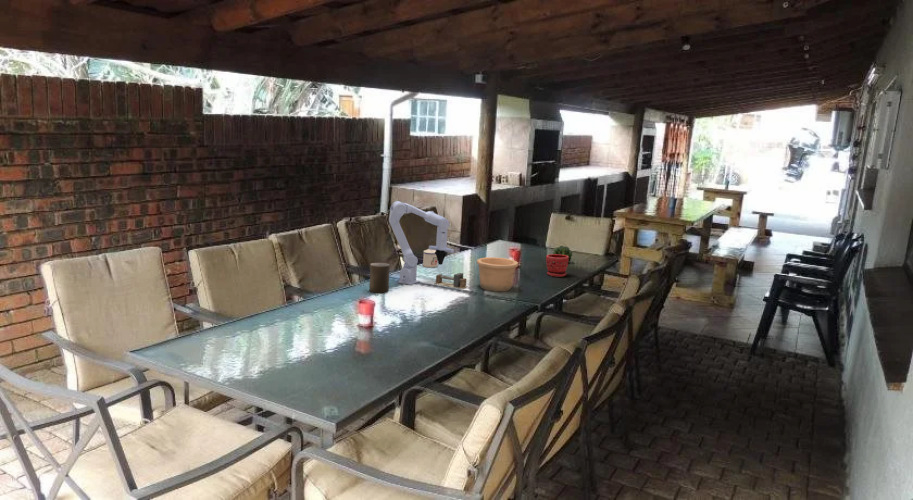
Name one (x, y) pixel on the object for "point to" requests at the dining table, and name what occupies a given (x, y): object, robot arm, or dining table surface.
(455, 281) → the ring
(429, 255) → the teacup with lid
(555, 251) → the vegetable
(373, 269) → the pillar candle
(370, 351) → the dining table surface
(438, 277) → the rail
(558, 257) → the plant pot
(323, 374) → the dining table surface
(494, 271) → the pottery
